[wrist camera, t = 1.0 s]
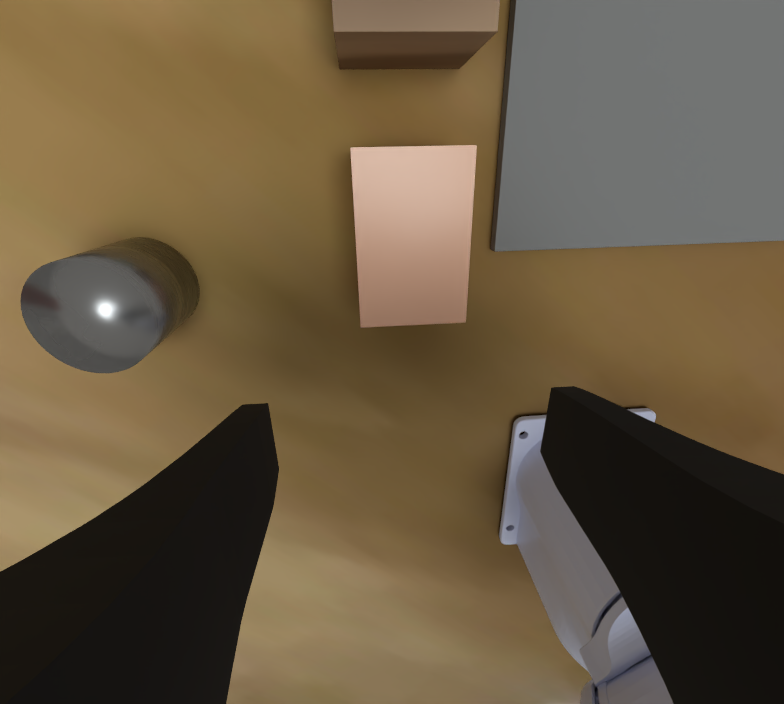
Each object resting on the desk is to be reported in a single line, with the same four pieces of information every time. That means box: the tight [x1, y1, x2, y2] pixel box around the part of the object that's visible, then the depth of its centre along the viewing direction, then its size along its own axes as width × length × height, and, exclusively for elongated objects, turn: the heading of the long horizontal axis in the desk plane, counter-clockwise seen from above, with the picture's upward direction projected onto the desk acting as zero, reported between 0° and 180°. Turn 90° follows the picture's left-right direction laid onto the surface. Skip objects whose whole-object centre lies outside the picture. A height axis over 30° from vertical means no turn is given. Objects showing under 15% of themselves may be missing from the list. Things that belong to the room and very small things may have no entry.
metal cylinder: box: [21, 238, 199, 373], centre depth 15 cm, size 4×4×4 cm
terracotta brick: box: [350, 145, 477, 328], centre depth 16 cm, size 6×4×4 cm, turn 1°
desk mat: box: [490, 0, 784, 251], centre depth 15 cm, size 16×16×1 cm
